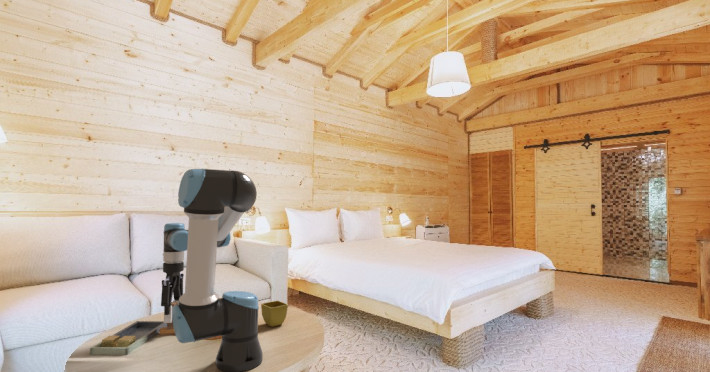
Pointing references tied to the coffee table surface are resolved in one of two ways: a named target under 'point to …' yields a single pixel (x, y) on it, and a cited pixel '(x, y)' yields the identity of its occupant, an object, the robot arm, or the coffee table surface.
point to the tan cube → (110, 341)
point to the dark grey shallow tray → (142, 329)
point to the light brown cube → (126, 341)
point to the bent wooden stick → (168, 325)
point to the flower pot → (274, 312)
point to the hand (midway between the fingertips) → (172, 319)
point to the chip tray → (117, 348)
